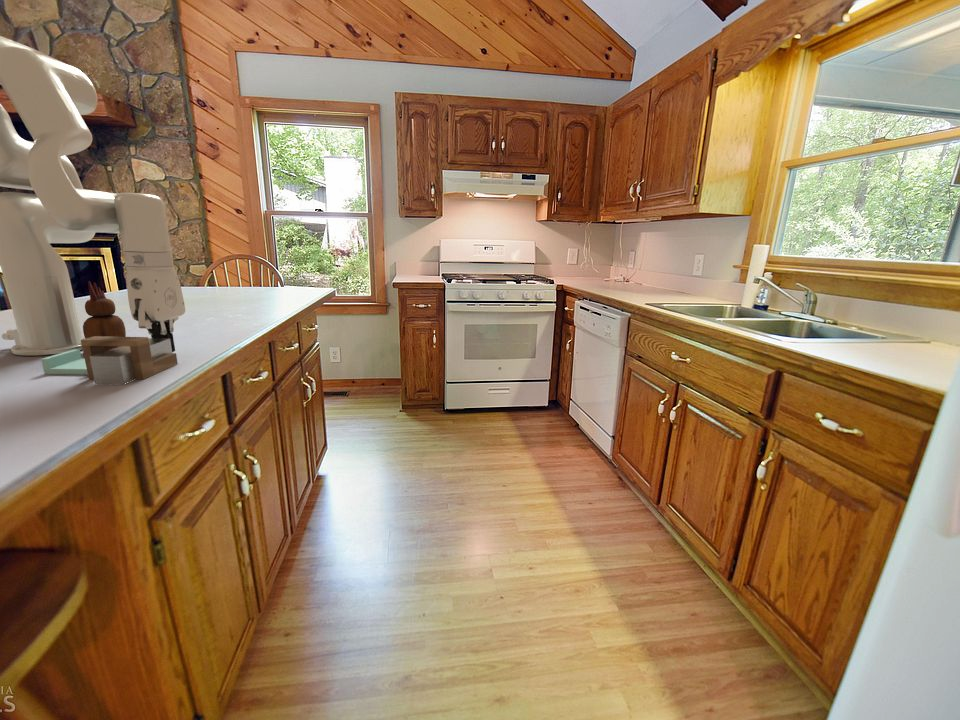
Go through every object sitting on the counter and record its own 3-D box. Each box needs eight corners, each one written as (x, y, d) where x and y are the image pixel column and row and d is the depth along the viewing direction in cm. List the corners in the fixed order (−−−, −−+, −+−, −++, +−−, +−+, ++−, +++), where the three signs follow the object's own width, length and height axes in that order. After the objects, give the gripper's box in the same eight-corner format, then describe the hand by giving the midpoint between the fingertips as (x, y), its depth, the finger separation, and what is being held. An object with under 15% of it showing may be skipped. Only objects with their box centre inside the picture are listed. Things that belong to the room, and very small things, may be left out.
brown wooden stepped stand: (88, 378, 75) (80, 339, 73) (129, 363, 84) (123, 328, 82) (143, 379, 75) (136, 340, 73) (177, 363, 85) (172, 329, 83)
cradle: (44, 373, 76) (40, 358, 75) (77, 363, 83) (74, 349, 82) (96, 374, 77) (92, 359, 76) (124, 363, 84) (121, 350, 83)
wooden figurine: (103, 354, 89) (88, 282, 85) (81, 352, 90) (65, 281, 86) (135, 347, 96) (122, 280, 92) (113, 345, 97) (100, 278, 93)
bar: (95, 384, 72) (89, 356, 71) (149, 362, 85) (145, 338, 84) (124, 385, 72) (119, 356, 71) (173, 362, 86) (170, 338, 85)
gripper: (144, 263, 76) (161, 362, 81) (191, 260, 90) (203, 344, 95) (99, 262, 75) (119, 362, 80) (153, 259, 90) (167, 344, 94)
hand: (164, 352), depth 88 cm, fingers closed
